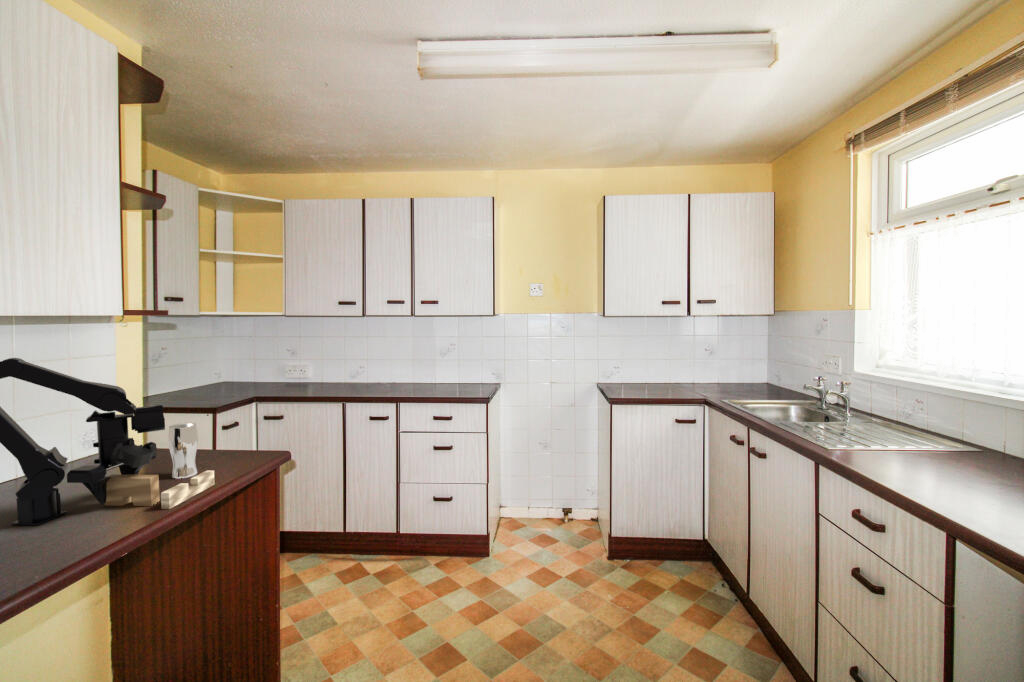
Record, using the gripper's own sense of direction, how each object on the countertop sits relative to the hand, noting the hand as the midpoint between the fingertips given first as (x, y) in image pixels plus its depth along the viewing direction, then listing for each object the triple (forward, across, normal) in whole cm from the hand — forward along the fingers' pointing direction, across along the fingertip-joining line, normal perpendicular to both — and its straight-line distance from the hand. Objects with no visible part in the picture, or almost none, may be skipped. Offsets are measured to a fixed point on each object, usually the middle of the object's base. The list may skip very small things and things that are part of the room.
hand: (116, 497), depth 112 cm
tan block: (+2, 0, -4) cm, 4 cm away
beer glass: (+2, +20, -2) cm, 20 cm away
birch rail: (+2, +5, -15) cm, 16 cm away
